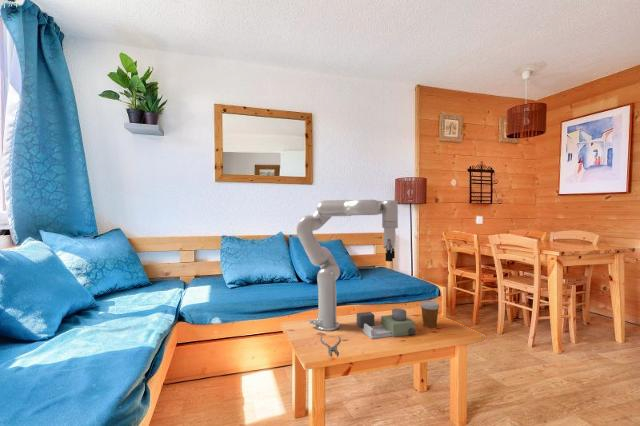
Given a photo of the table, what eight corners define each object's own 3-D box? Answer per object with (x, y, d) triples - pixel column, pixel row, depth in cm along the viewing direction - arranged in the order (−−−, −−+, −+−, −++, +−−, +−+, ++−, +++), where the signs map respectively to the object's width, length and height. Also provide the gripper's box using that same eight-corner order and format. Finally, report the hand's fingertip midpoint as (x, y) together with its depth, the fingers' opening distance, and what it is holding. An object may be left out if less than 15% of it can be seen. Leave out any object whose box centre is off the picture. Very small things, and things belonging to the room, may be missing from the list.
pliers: (337, 334, 145) (352, 352, 126) (337, 336, 145) (352, 354, 126) (318, 336, 143) (330, 355, 124) (318, 338, 143) (330, 357, 124)
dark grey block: (360, 327, 155) (360, 316, 155) (356, 324, 160) (356, 313, 160) (374, 326, 158) (374, 314, 158) (370, 322, 162) (370, 311, 162)
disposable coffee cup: (442, 329, 153) (442, 305, 153) (423, 329, 153) (423, 305, 153) (435, 322, 162) (435, 300, 162) (417, 322, 162) (417, 300, 162)
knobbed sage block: (373, 340, 139) (373, 319, 139) (360, 329, 153) (360, 309, 153) (416, 334, 146) (416, 314, 146) (400, 324, 159) (400, 305, 159)
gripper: (384, 224, 157) (384, 256, 157) (379, 225, 140) (379, 262, 140) (399, 224, 154) (399, 257, 154) (396, 225, 138) (396, 262, 138)
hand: (390, 259), depth 147 cm, fingers open, 9 cm apart
